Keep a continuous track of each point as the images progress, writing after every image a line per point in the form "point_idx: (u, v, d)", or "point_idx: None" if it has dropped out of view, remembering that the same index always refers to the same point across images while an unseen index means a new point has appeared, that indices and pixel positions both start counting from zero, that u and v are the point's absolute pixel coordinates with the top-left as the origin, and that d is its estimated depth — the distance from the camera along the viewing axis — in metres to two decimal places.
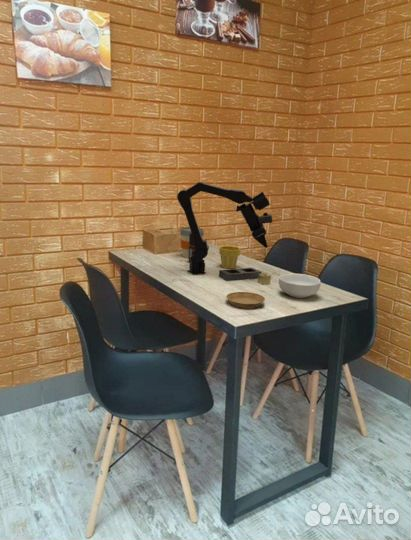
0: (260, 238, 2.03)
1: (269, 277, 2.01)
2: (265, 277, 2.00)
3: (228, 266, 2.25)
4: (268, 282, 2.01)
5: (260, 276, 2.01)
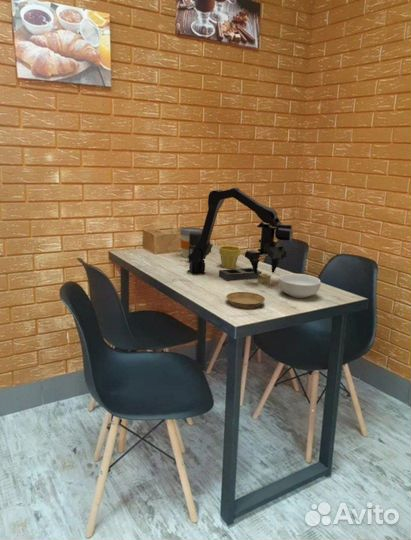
0: (253, 262, 1.98)
1: (269, 277, 2.01)
2: (265, 277, 2.00)
3: (228, 266, 2.25)
4: (268, 282, 2.01)
5: (260, 276, 2.01)
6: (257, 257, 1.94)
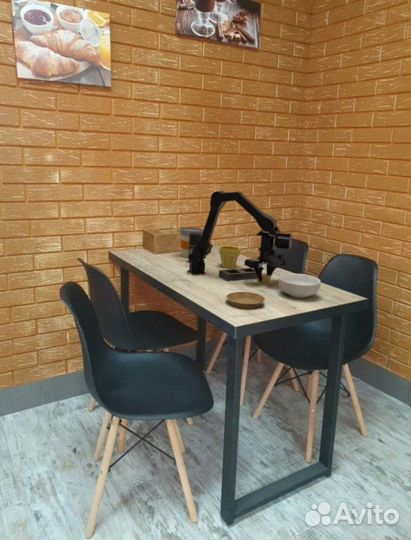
0: (257, 269, 2.00)
1: (269, 277, 2.01)
2: (265, 277, 2.00)
3: (228, 266, 2.25)
4: (268, 282, 2.01)
5: None
6: (257, 265, 1.95)
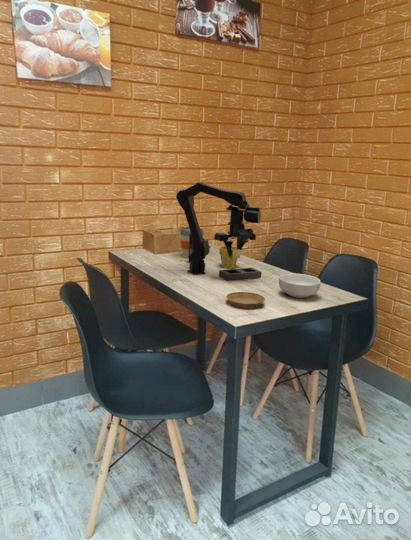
0: (227, 244, 2.04)
1: (239, 251, 2.04)
2: (235, 251, 2.03)
3: (228, 266, 2.25)
4: (238, 256, 2.05)
5: None
6: (226, 239, 1.98)
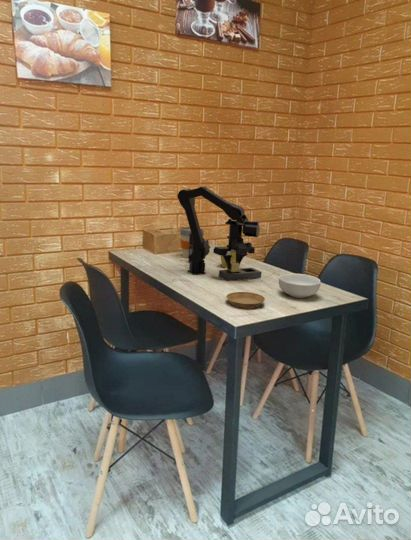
0: (226, 257, 2.05)
1: (238, 264, 2.06)
2: (234, 264, 2.05)
3: None
4: (237, 269, 2.06)
5: None
6: (225, 253, 2.00)
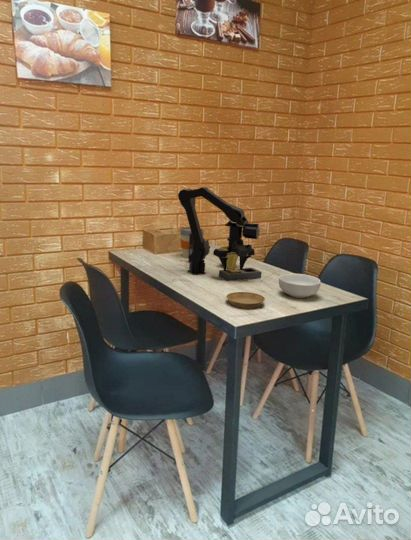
0: (222, 259, 2.05)
1: (237, 272, 2.07)
2: (233, 272, 2.06)
3: (228, 266, 2.25)
4: None
5: (229, 271, 2.07)
6: (225, 255, 2.00)
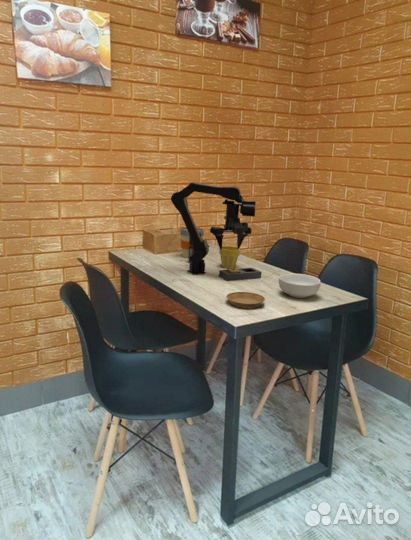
0: (218, 237, 2.06)
1: (237, 272, 2.07)
2: (233, 272, 2.06)
3: (228, 266, 2.25)
4: None
5: (229, 271, 2.07)
6: (221, 232, 2.01)
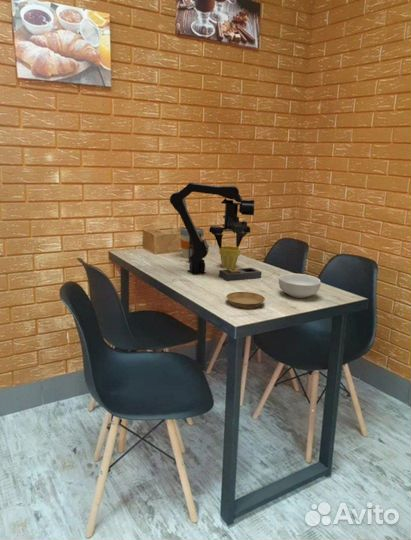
0: (217, 236, 2.06)
1: (237, 272, 2.07)
2: (233, 272, 2.06)
3: (228, 266, 2.25)
4: None
5: (229, 271, 2.07)
6: (220, 231, 2.02)
